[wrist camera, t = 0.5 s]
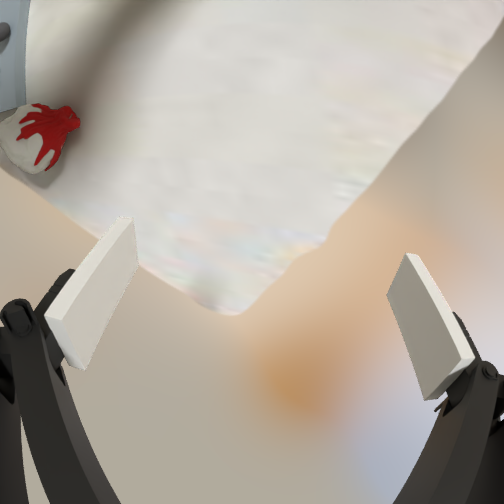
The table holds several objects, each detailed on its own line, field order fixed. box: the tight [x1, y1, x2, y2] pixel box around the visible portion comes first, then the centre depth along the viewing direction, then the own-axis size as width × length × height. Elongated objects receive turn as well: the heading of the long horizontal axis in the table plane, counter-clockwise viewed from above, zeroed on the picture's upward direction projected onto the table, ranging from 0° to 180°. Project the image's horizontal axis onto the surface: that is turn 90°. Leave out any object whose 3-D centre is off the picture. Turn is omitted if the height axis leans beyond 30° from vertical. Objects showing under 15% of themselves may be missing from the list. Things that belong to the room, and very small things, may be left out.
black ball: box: [0, 22, 10, 42], centre depth 22 cm, size 4×4×4 cm
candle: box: [0, 103, 80, 174], centre depth 32 cm, size 9×11×15 cm
